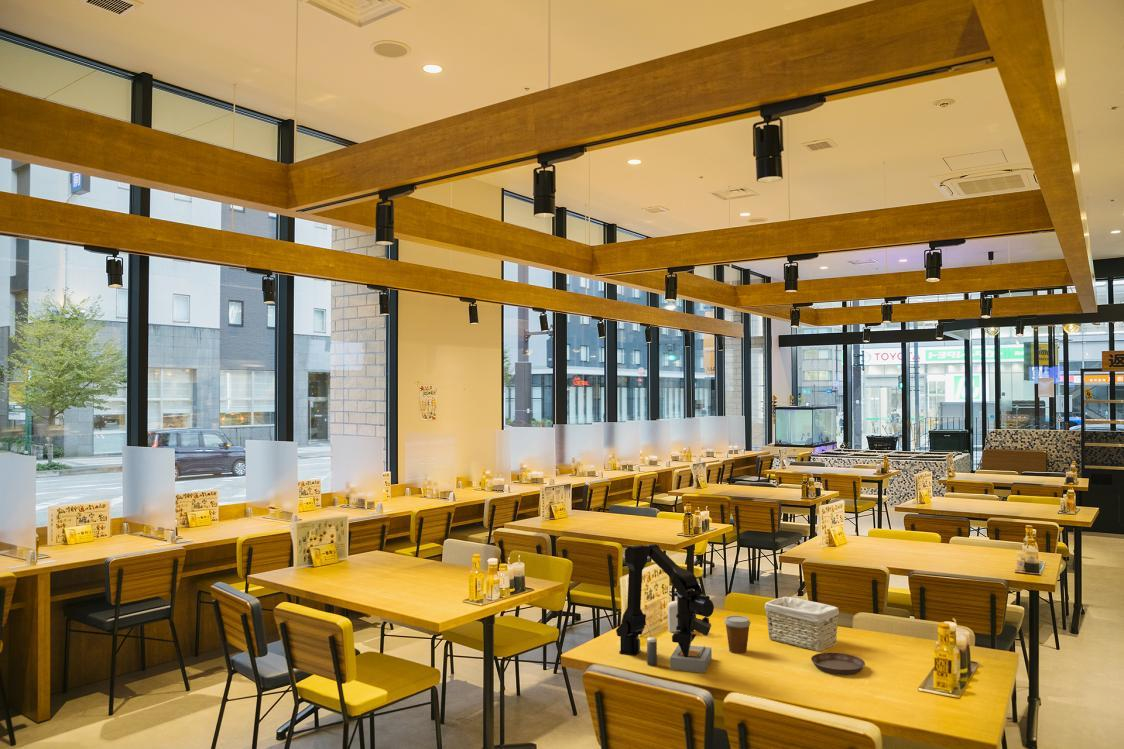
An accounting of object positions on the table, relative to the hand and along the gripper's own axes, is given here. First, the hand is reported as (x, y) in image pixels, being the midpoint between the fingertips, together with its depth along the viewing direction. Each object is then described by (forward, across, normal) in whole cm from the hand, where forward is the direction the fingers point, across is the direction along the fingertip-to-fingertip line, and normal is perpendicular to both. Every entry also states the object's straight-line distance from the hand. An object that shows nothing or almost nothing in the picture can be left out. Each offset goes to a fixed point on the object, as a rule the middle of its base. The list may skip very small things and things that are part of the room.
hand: (686, 657), depth 257 cm
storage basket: (+6, +49, -36) cm, 61 cm away
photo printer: (+6, +48, +11) cm, 50 cm away
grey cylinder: (+5, +4, +13) cm, 15 cm away
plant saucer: (+6, +21, -49) cm, 54 cm away
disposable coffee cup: (+5, +29, -14) cm, 33 cm away
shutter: (+1, +7, 0) cm, 7 cm away
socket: (+5, +9, 0) cm, 11 cm away
